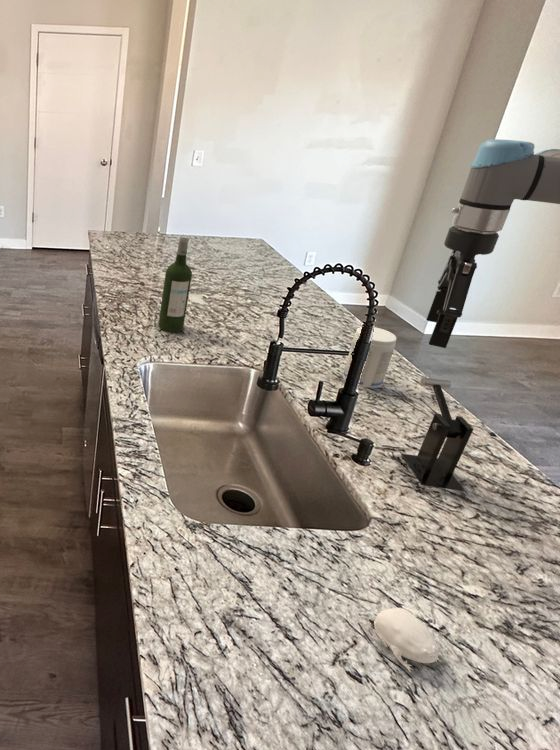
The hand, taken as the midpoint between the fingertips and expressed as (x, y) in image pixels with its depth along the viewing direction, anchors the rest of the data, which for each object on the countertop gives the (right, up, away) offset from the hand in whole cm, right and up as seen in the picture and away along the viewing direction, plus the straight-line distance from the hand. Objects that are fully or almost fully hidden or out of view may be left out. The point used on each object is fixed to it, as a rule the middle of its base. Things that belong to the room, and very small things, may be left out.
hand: (435, 333), depth 108 cm
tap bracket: (+2, -30, +4) cm, 30 cm away
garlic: (-26, -45, -30) cm, 60 cm away
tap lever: (+3, -16, +3) cm, 16 cm away
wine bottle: (-38, +1, +66) cm, 76 cm away
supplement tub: (+7, -14, +38) cm, 41 cm away
